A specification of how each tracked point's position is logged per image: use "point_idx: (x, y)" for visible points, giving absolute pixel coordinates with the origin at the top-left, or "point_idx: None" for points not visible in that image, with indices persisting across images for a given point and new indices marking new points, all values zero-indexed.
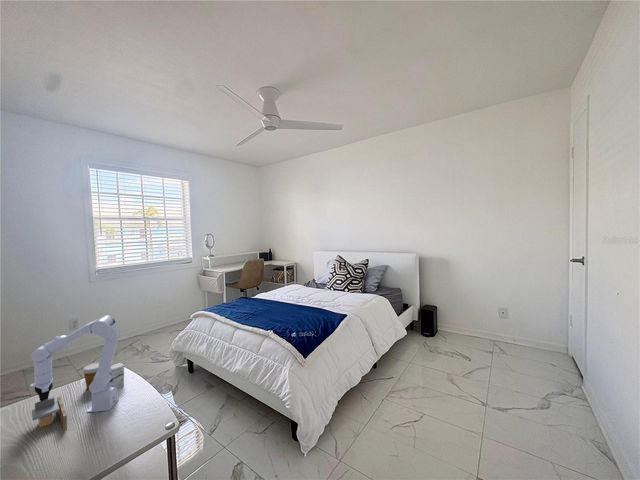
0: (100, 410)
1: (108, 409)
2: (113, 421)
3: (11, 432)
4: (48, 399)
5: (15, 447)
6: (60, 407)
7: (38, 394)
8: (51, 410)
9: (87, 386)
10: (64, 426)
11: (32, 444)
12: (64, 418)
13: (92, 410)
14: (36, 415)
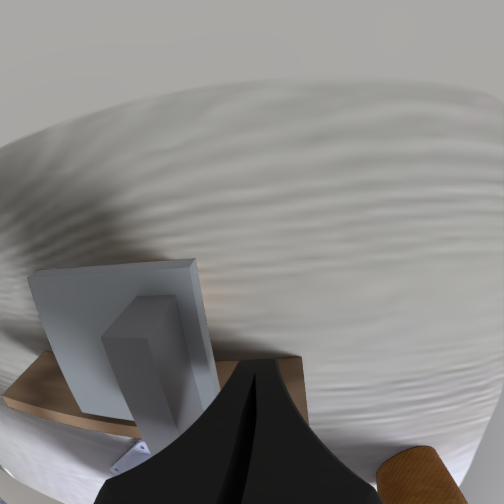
0: (118, 462)
1: (112, 472)
2: (43, 446)
3: (189, 118)
4: (154, 432)
5: (17, 177)
6: (104, 419)
7: (164, 448)
8: (81, 381)
9: (406, 467)
10: (34, 364)
11: (4, 243)
12: (12, 390)
13: (136, 452)
14: (58, 300)
